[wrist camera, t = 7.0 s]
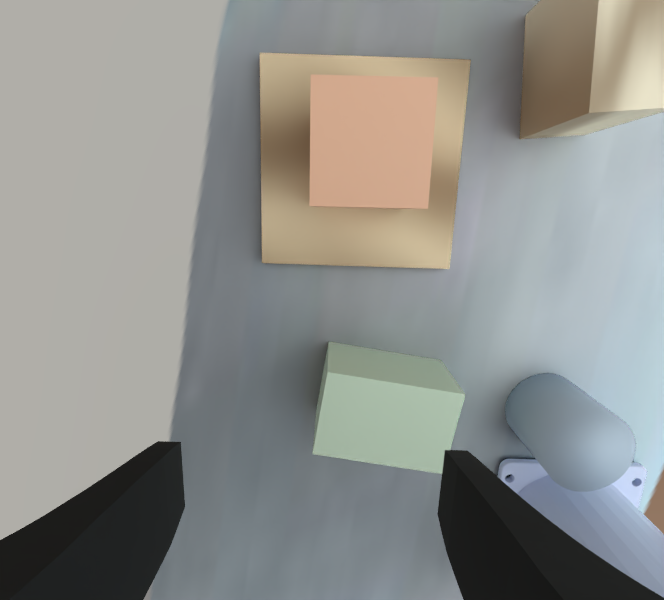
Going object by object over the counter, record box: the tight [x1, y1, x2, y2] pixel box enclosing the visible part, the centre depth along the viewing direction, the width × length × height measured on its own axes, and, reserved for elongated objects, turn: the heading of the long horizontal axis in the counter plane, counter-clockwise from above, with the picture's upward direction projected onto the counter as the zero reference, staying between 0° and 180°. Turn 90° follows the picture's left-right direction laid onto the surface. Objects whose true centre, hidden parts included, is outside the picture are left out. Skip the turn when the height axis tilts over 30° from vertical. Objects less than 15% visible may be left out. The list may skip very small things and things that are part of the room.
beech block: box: [520, 0, 664, 139], centre depth 15 cm, size 5×5×3 cm
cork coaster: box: [260, 53, 471, 269], centre depth 18 cm, size 9×9×1 cm
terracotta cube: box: [309, 74, 438, 209], centre depth 15 cm, size 4×4×5 cm
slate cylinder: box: [505, 373, 636, 492], centre depth 19 cm, size 4×4×4 cm
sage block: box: [313, 342, 465, 474], centre depth 19 cm, size 4×6×4 cm, turn 80°
